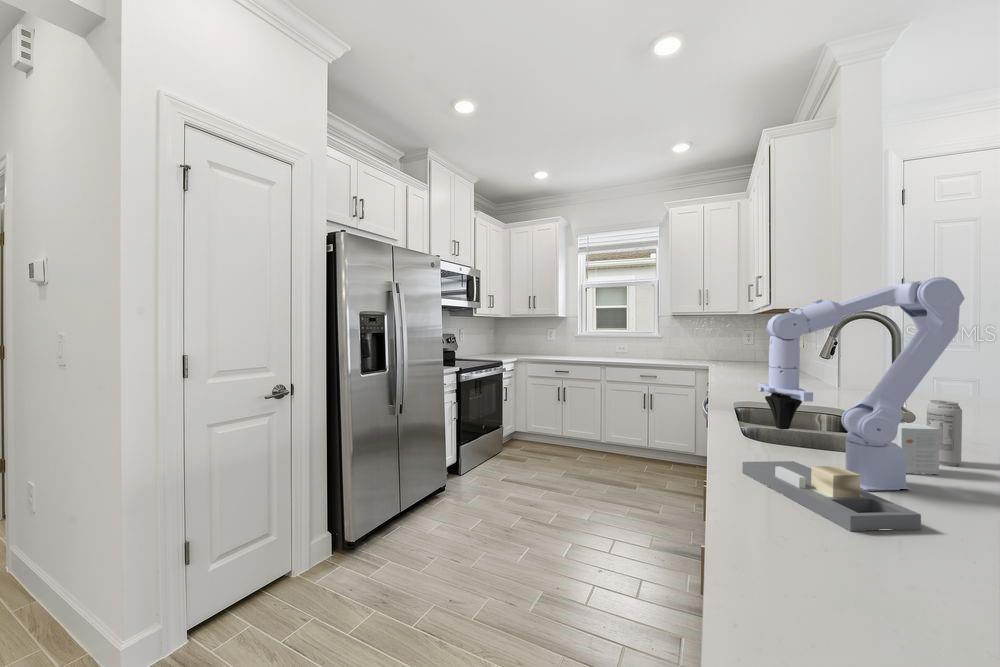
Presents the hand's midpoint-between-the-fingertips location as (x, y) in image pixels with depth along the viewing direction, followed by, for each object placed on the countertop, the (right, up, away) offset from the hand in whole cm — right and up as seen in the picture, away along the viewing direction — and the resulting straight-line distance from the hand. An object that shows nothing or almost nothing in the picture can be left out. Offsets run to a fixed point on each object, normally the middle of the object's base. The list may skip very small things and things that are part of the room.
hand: (782, 428), depth 95 cm
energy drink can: (+46, -11, +10) cm, 48 cm away
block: (-1, -8, -16) cm, 18 cm away
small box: (+32, -11, +4) cm, 34 cm away
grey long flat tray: (-1, -11, -12) cm, 16 cm away
